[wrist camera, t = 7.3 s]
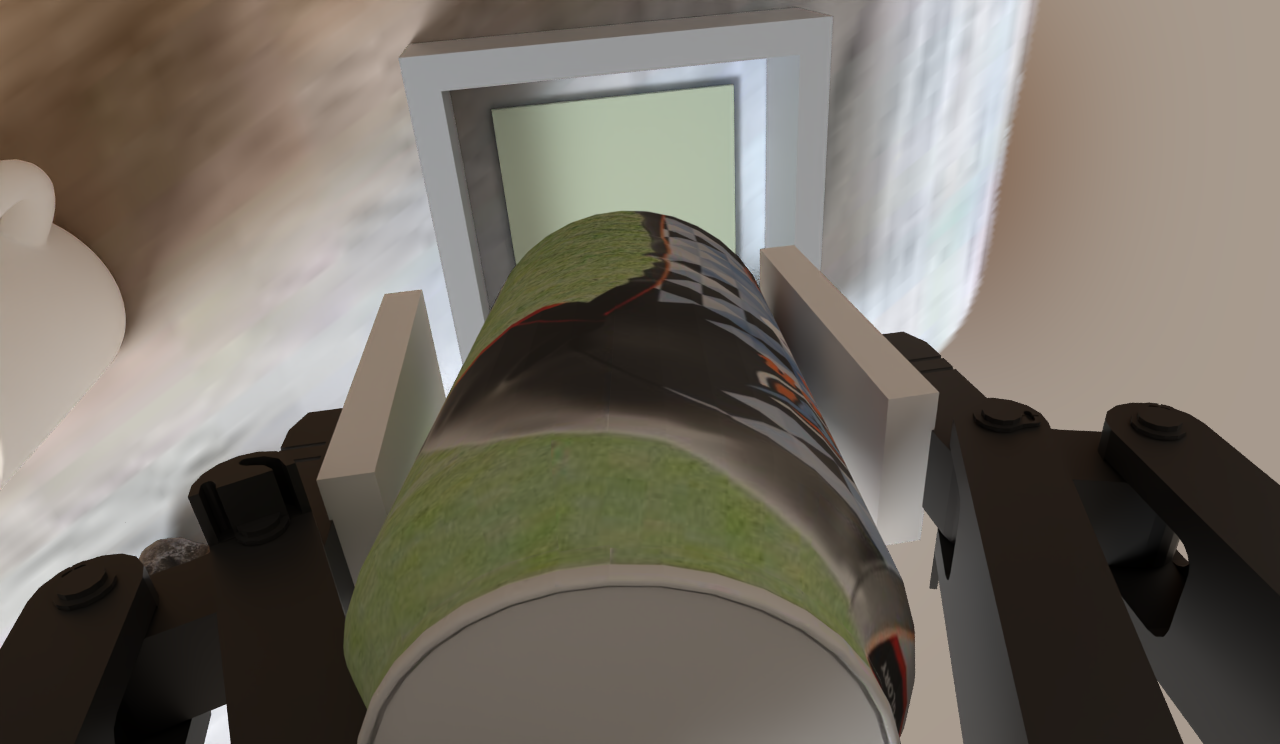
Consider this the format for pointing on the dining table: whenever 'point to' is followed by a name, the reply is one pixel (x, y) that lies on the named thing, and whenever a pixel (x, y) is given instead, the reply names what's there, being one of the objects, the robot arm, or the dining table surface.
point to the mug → (47, 316)
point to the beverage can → (630, 524)
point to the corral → (623, 134)
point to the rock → (171, 553)
